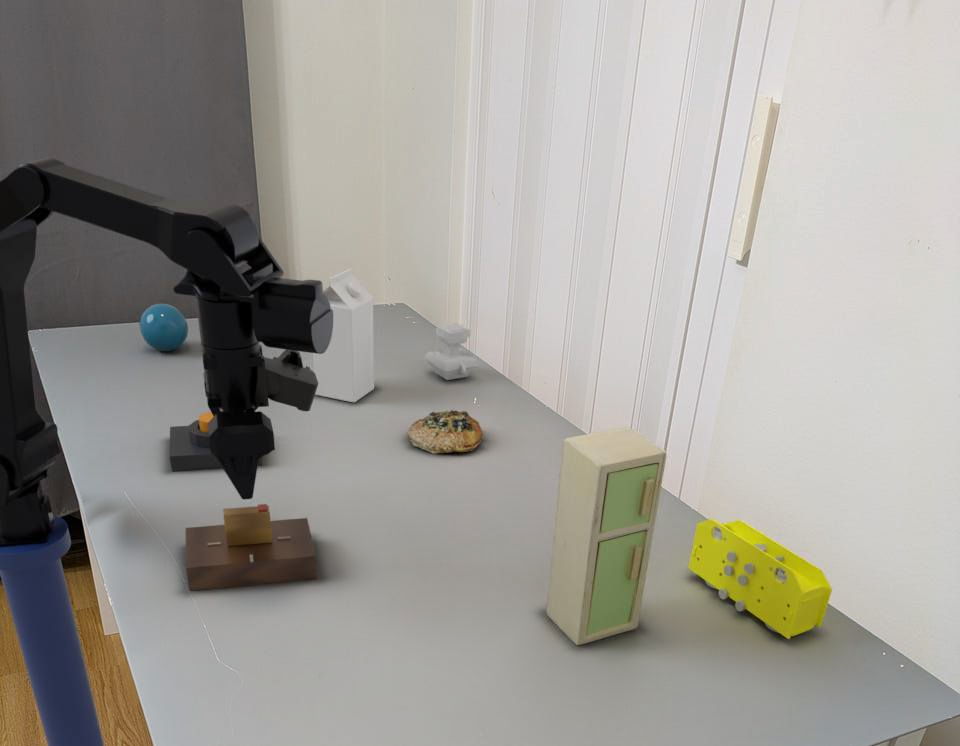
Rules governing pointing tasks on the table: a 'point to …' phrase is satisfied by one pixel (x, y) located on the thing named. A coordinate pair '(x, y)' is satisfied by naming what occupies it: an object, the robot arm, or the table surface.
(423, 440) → the bread roll
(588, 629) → the toy refrigerator
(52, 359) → the table surface
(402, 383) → the table surface
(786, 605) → the yellow toy chassis
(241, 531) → the thumbturn
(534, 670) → the table surface
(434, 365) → the stamp
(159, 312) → the ball
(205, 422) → the bell button
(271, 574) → the plate
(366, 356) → the milk carton
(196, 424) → the block
